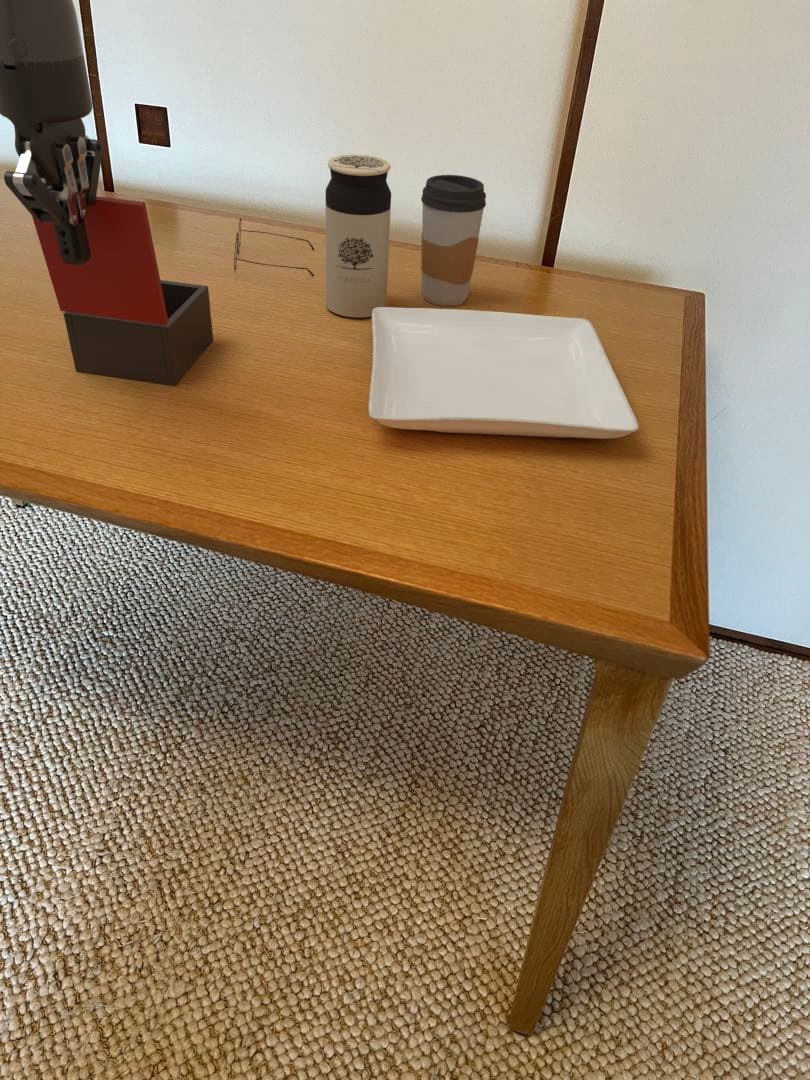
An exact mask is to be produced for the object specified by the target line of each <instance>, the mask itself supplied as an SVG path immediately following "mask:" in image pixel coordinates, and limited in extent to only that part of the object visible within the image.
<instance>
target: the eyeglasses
mask: <svg viewBox="0 0 810 1080" xmlns="http://www.w3.org/2000/svg"><path fill="white" fill-rule="evenodd" d="M241 221H242V218H241V217H240V218H239V221H238V229H239V231H238V232H236V235H235V245H234V253H235V255H234V257H233V270H234V271H236V269H237V264H236V263H237V261H242V262H246V263H251V264H255V265H262V266H269V267H270V266H271V267H279V268H289V269H296V270H306V271H307V272H309V273H308V274H310V275H311V277H314V276H315V274H314V273H313V272H312V271H311V270H310V269H309V268H307V267H299V266H298V267H297V266H288V265H287V266H286V265H276V264H268V263H267V264H266V263H259V262H255V261H250V260H245V259H242V258H241V259H240V258H238V255H239V253H240V250H239V249H241V248H240V247H241V241H240V238H241V236H242V231H243V232H247V233H248V232H251V233H261V234H268V235H273V236H279V237H284V238H289V239H295V240H299V241H304V242H307V243H308V245H309V246H310V248H311V249H312V251H314V250H315V248H314V246H313V245H312V244H311V242H310V241H309V239H308V240H307V239H304V238H299V237H293V236H288V235H282V234H278V233H273V232H266V231H258V230H245V229H242V225H241Z"/></svg>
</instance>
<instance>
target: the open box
mask: <svg viewBox="0 0 810 1080" xmlns="http://www.w3.org/2000/svg"><path fill="white" fill-rule="evenodd" d="M160 281H161V286H162V291H163V297H164V302H165V307H166V312H167V317H168V323H167V324H166V325H158V324H151V323H144V322H136V321H129V320H122V319H115V318H108V317H100V316H93V315H86V314H79V313H71V312H63V318H64V319H63V320H64V323H65V328H66V332H67V338H68V341H69V346H70V350H71V356H72V360H73V364H74V369H75V372H78V373H84V374H91V375H97V376H98V375H99V376H106V377H113V378H118V379H119V378H121V379H125V380H134V381H141V382H146V383H154V384H159V385H166V386H167V385H168V386H174V387H176V386H177V384H178V383H180V381H181V380H182V379H183V377H184V376H185V375H186V374H187V373H188V372H189V370H191V368H192V367H193V366H194V365H195V363H196V362H197V361H198V360H199V358H200V357H201V356H202V354H204V353H205V351H206V350H207V349H208V347H210V345H212V343H213V342H214V333H213V323H212V313H211V304H210V303H211V301H210V291H209V286H208V285H201V284H195V283H188V282H187V283H186V282H178V281H172V280H171V281H170V280H164V279H163V280H162V279H160Z"/></svg>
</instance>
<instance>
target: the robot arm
mask: <svg viewBox="0 0 810 1080" xmlns="http://www.w3.org/2000/svg"><path fill="white" fill-rule="evenodd" d="M83 47H84V46H83V42H82V37H81V30H80V25H79V20H78V15H77V11H76V7H75V3H74V0H0V116H2V117H4V118H6V119H8V120H9V121H10V122H11V123H12V125H13V128H14V148H15V152H16V154H17V156H18V157H19V159H18V162H17V165H16V168H15V171H10V170H6V171H5V172H4V175H3V181H4V183H5V185H6V187H8V189H9V190H10V191H11V193H12V194H13V195H14V197H16V199H17V200H18V201H19V202H20V203H21V204H22V206H23V207H24V209H26V210H27V212H29V214H30V215H31V217H32V216H33V217H34V218H35V220H36V221H38V222H49V223H52V224H53V226H54V228H55V233H56V237H57V242H58V246H59V251H60V255H61V258H62V260H63V261H64V262H65V263H67V264H74V265H83V264H84V263H85V262H87V261H88V260H89V259H91V252H90V247H89V241H88V236H87V231H86V226H85V221H84V220H85V219H86V218H87V216H88V210H87V207H88V206H94V205H95V202H96V196H98V195H97V194H98V188H99V180H100V172H101V166H102V160H103V153H104V152H103V151H104V145H103V142H102V140H101V139H95V138H94V139H93V138H90V137H88V135H87V134H86V126H85V124H84V121H83V118H86V117H87V116H89V115H90V114H91V113H92V111H93V106H94V105H93V100H92V95H91V88H90V83H89V76H88V71H87V66H86V59H85V54H84V48H83Z"/></svg>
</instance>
